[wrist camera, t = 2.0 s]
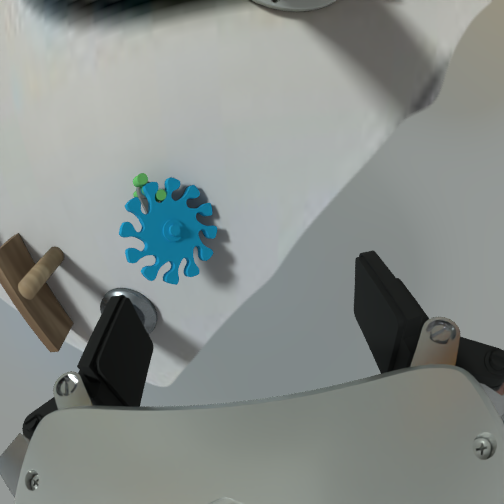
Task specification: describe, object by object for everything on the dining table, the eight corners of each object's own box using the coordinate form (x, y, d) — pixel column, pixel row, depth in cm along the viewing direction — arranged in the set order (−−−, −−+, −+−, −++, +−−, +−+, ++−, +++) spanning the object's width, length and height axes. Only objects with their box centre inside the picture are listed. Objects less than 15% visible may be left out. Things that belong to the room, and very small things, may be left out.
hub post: (140, 282, 33) (115, 340, 25) (167, 328, 37) (153, 387, 29) (92, 294, 34) (62, 347, 25) (120, 336, 38) (101, 390, 29)
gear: (235, 250, 30) (158, 307, 25) (205, 249, 35) (137, 296, 29) (191, 150, 26) (98, 194, 21) (165, 165, 31) (88, 204, 25)
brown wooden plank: (18, 233, 29) (-7, 255, 24) (73, 323, 37) (58, 351, 31) (11, 237, 29) (-14, 259, 24) (65, 325, 37) (50, 352, 32)
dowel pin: (58, 244, 30) (25, 279, 23) (66, 260, 31) (37, 297, 24) (46, 249, 30) (14, 284, 24) (55, 264, 32) (25, 301, 25)
